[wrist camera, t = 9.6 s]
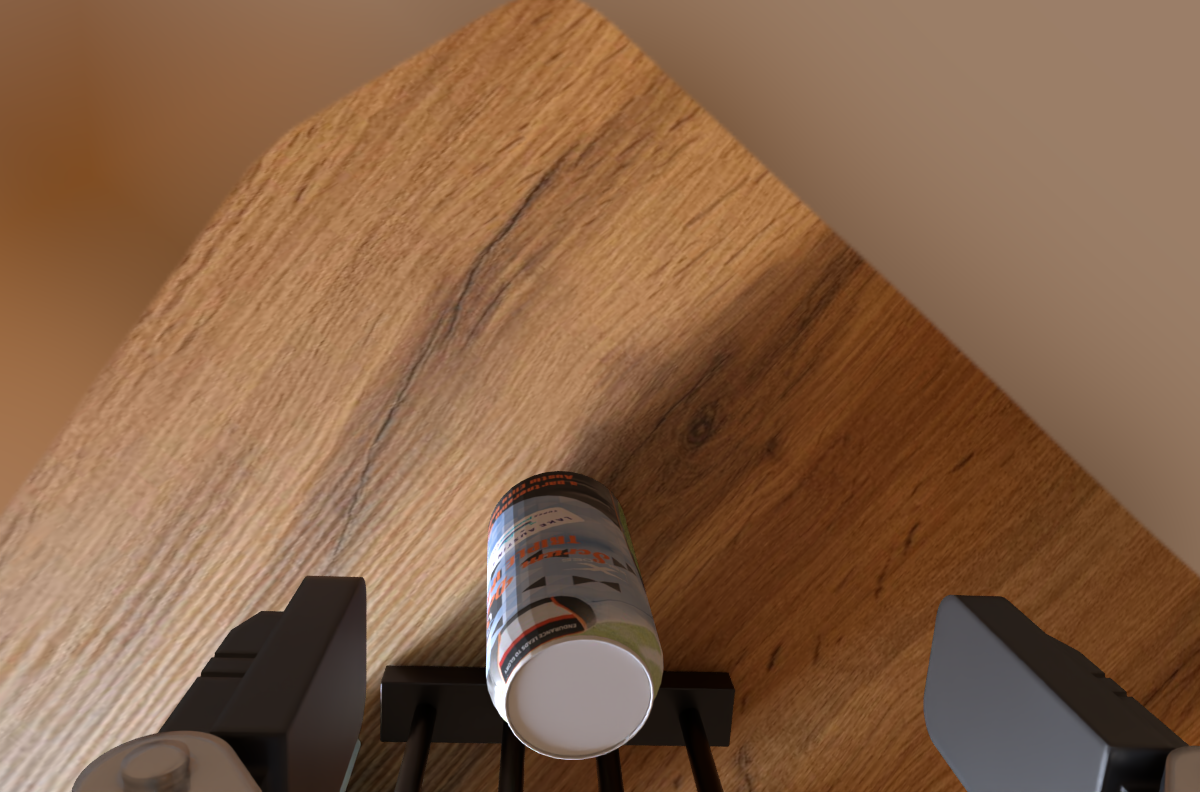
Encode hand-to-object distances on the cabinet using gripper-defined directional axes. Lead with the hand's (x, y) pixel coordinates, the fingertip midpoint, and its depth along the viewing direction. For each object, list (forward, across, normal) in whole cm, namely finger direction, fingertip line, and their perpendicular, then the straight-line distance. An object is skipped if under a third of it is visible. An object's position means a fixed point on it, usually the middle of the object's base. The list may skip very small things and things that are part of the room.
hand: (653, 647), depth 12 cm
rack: (+26, 0, +17) cm, 31 cm away
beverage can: (+26, 0, +9) cm, 28 cm away
